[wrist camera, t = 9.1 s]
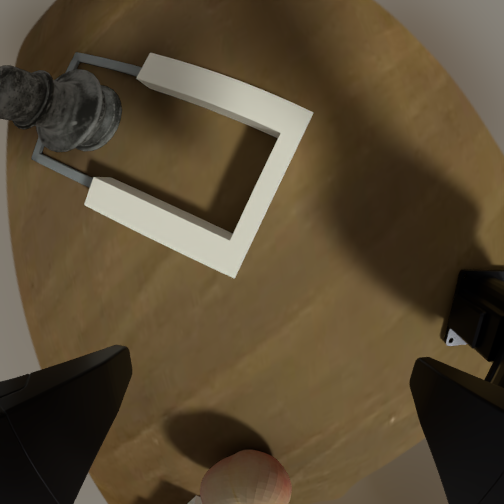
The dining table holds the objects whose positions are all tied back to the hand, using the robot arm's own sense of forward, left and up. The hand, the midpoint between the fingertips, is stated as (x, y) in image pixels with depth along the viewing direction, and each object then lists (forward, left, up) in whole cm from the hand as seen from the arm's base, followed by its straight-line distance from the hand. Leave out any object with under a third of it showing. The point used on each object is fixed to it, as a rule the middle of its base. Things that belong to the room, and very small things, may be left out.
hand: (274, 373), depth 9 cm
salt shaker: (+14, -11, -13) cm, 22 cm away
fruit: (+1, +20, -13) cm, 24 cm away
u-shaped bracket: (+5, -7, -13) cm, 16 cm away
